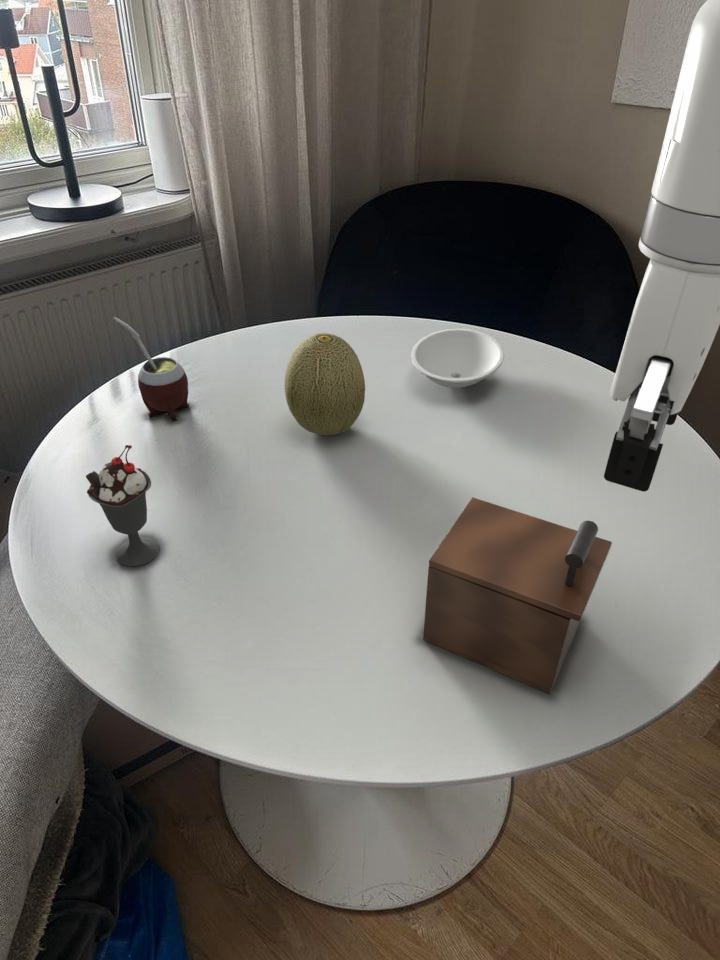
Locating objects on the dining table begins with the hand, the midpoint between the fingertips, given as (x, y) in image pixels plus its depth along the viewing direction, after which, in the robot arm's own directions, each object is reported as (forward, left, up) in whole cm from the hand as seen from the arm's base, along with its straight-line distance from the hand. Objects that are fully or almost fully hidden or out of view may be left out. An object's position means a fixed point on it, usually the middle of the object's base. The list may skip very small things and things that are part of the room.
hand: (640, 449), depth 55 cm
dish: (+33, -45, -26) cm, 62 cm away
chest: (+8, 0, -26) cm, 27 cm away
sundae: (+50, +10, -26) cm, 57 cm away
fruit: (+44, -23, -26) cm, 56 cm away
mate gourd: (+68, -15, -26) cm, 75 cm away
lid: (+8, 0, -15) cm, 17 cm away
